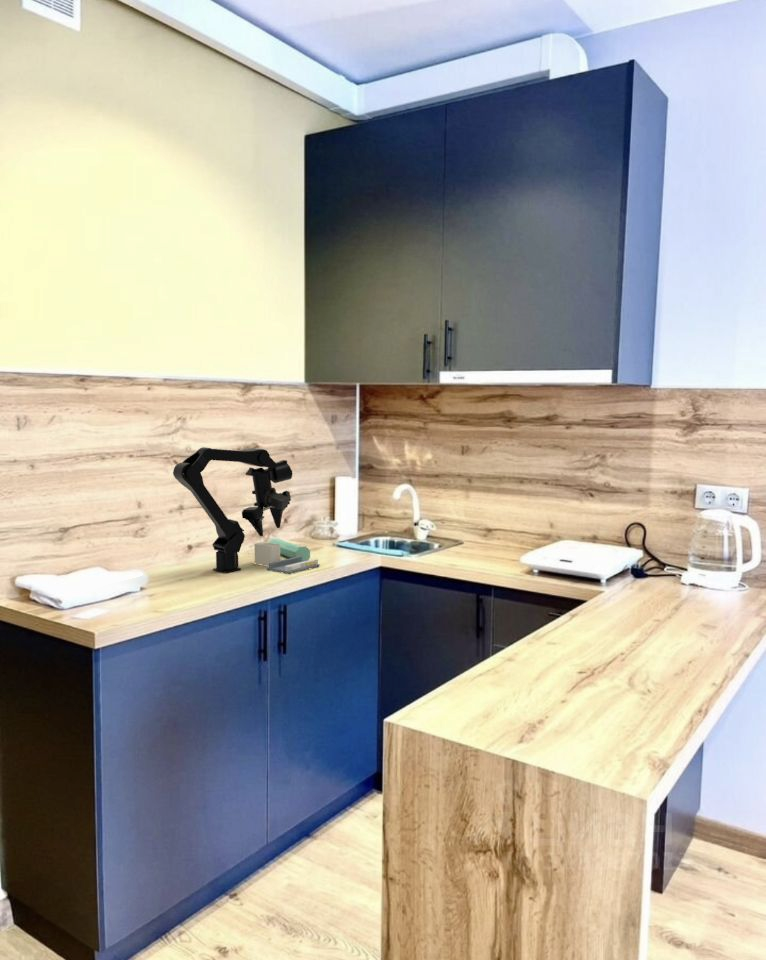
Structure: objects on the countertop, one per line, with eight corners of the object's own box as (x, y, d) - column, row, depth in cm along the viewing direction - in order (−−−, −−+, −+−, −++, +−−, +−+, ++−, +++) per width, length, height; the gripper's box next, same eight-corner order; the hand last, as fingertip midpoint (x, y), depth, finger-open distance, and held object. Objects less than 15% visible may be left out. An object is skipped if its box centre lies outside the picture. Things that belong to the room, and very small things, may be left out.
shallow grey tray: (289, 574, 236) (289, 566, 235) (267, 569, 242) (267, 562, 241) (319, 566, 247) (319, 559, 246) (297, 562, 253) (297, 555, 252)
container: (268, 534, 274) (298, 543, 252) (282, 539, 277) (313, 548, 256) (262, 549, 273) (292, 560, 252) (276, 554, 276) (307, 565, 255)
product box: (271, 567, 246) (271, 546, 245) (254, 564, 251) (254, 543, 250) (280, 565, 249) (280, 544, 249) (263, 562, 254) (263, 541, 253)
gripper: (264, 493, 235) (272, 541, 238) (299, 479, 251) (305, 524, 254) (237, 493, 241) (245, 540, 244) (272, 479, 256) (279, 523, 259)
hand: (270, 531), depth 250 cm, fingers open, 9 cm apart
